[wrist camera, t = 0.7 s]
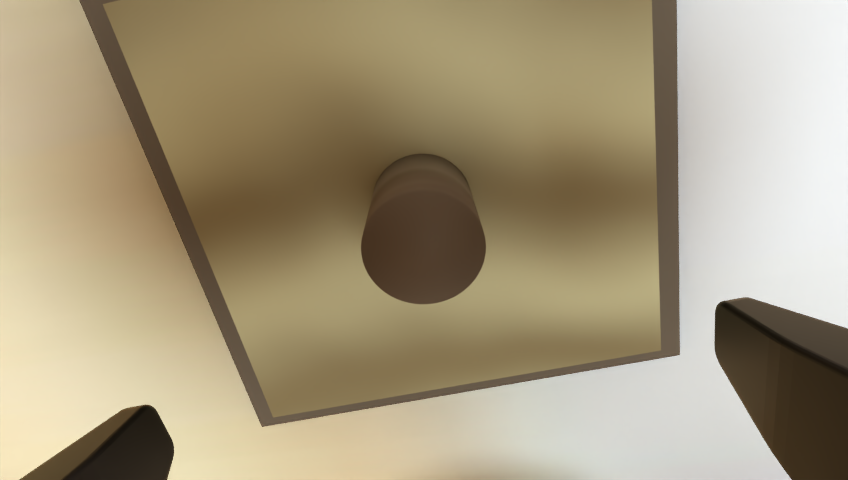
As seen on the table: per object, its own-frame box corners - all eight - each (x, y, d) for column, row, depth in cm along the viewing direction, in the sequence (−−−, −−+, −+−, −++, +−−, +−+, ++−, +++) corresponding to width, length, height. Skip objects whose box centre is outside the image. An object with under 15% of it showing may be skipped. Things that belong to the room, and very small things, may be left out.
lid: (651, 337, 19) (714, 423, 15) (278, 402, 19) (243, 499, 16) (635, -117, 13) (729, -176, 9) (118, 4, 14) (2, -1, 10)
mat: (674, 348, 19) (679, 354, 19) (264, 419, 20) (261, 426, 20) (667, -169, 13) (675, -174, 13) (76, -26, 14) (67, -28, 14)
